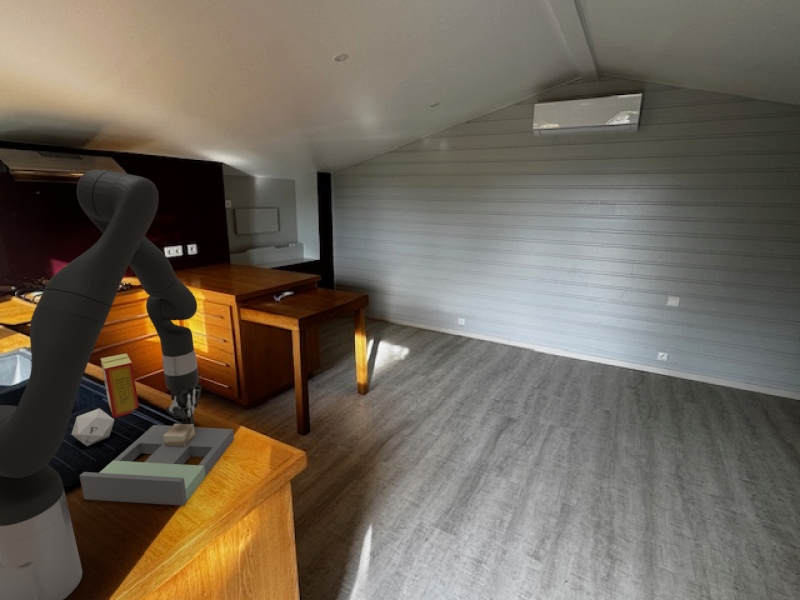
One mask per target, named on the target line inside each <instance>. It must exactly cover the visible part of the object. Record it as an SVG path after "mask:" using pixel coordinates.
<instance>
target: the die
mask: <svg viewBox="0 0 800 600" xmlns="http://www.w3.org/2000/svg"><path fill="white" fill-rule="evenodd" d="M114 422H115V418H113V417H111V415H109V414H108V413H106V412H105V411H103V410H102V409H101V408H96V409H94V410H91V411H87V412H86V413H83V414H80V415H77V416H76V418H75V423H74V425H73V427H72V431H71V436H73V437H74V438H75V439H77V440H78V441H79V442H81V443H82V444H83V445H85V446H86V447H89V446H91V445H94V444H95V443H98V442H101V441H103V440H105V439H108V438H110V435H111V432H112V429H113V426H114Z"/></svg>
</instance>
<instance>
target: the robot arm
mask: <svg viewBox="0 0 800 600" xmlns="http://www.w3.org/2000/svg"><path fill="white" fill-rule="evenodd" d="M76 197H77V201H78V203H79V206H80V207H81V210H82V211H83V213H85V214H86V216H87V217H88V218H89V219H90V221H92V223H93V224H94V225H95V226H96V227H97V228H98V229H99V231H100V232H101V233H102V235H101V236H100V238H99V239H98V240H97V242H95V244H93V245H92V246H91V247H89V248H88V249H87V250H86V251H85V252H83V253H81V254H80V255H79V256H77V257H76V258H74V259H73V260H72V261H70V262H69V263H67V264H66V265H65V266H64V267H62V268H61V269H59V270H58V271H57V273H55V274H54V275H52V277H51V278H50V279H49V281H48V282H47V284H46V286H45V288H44V289H43V292H42V293H41V296H40V298H39V299H38V302H37V304H36V306H35V308H34V310H33V313H32V316H31V319H30V323H29V341H30V354H31V370H30V374H29V378H28V381H27V384H26V387H25V389H24V391H23V394H22V396H21V398H20V400H19V403H18V404H17V406H16V405H9V404H7V405H6V404H4V405H3V404H0V600H65V599H66V598H68V597H69V595H71V594H72V593H73V592H74V591H75V589H76V588H77V587H78V586H79V584H80V582H81V580H82V577H83V569H82V568H83V567H82V563H81V559H80V554H79V550H78V545H77V542H76V538H75V537H76V536H75V533H74V527H73V523H72V519H71V515H70V510H69V506H68V501H67V496H66V492H65V488H64V483H63V481H62V477H61V475H60V474H59V472H57V470H55V469H53V467H51V465H49V463H50V462H51V460H52V459H53V458H54V457H55V456H56V455H57V452H58V450H59V449H60V447H61V446H62V443H63V441H64V439H65V435H66V432H67V430H68V425H69V422H70V420H71V415H72V414H73V413H72V412H73V409H74V405H75V402H76V399H77V395H78V392H79V388H80V385H81V382H82V380H83V377H84V374H85V372H86V369H87V366H88V364H89V362H90V358H91V357H92V353H93V351H94V348H95V345H96V343H97V341H98V338H99V336H100V334H101V332H102V329H103V328H104V325H105V324H106V321H107V320H108V316H109V314H110V312H111V308H112V307H113V303H114V301H115V298H116V296H117V292H118V291H119V288H120V286H121V283H122V281H123V279H124V277H125V274H126V272H127V270H128V268H129V266H130V268H131V270H132V272H133V273H134V274H135V277H136V278H137V281H138V282H139V283H140V285H141V287H142V288H143V290H144V291H145V293H146V294H147V295H148V297H147V299H146V304H145V306H146V307H145V309H146V313H147V315H148V317H149V319H150V321H151V323H152V325H153V327H154V328H155V331H156V333H157V335H158V338H159V341H160V342H159V343H160V348H161V354H162V356H161V357H162V362H161V363H162V369H163V375H164V381H165V387H166V389H168V390H169V391H170V393H171V394H170V395H171V396H170V400H171V404H170V406H166V408H165V411H166V412H167V413H168V414H169V415H171V416H172V417H173V418H175V419H181V424H194V425H195V419H194V413H195V408H198V406H199V401H200V397H201V393H202V387H203V386H202V385H201V384H198V383H199V382H200V377H199V369H198V363H197V362H198V360H197V355H196V351H195V347H194V346H195V345H194V338H193V332H192V330H191V329H190V328H189V327H186V326H182V325H178V324H175V323H174V322H173V321H187V320H191V319H192V318H193V317H194V316H195V315H196V313H197V310H198V302H197V299H196V297H195V295H194V294H193V292H192V291H191V289H189V288H188V287H187V286H186V285H185V284H184V283H183V282H182V281H181V280H180V279H179V277H177V275H176V273H175V271H174V268H173V266H172V264H171V263H170V260H169V259H168V257H167V256H166V255H165V253H164V252H163V251H162V250H161V249H160V248H159V247H158V246H156V245H155V244H154V243H153V242H152V241H150V239H148V238H147V237H146V234H147V233H148V230H149V229H150V227H151V224H153V221H154V218H155V217H156V214H157V211H158V206H159V200H160V199H159V198H160V197H159V191H158V188H157V187H156V185H155V183H154V182H153V181H151V180H150V179H148V178H146V177H143V176H140V175H135V174H129V173H124V172H120V171H119V172H118V171H111V170H105V169H90V170H88V171H86V172H84V173H83V174H82V175H81V176H80V178H79V180H78V181H77V184H76Z"/></svg>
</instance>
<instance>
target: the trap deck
mask: <svg viewBox="0 0 800 600" xmlns="http://www.w3.org/2000/svg"><path fill="white" fill-rule="evenodd" d="M172 426H173V425H160V424H159V425H158V424H153V425H152V426H150V427H149V429H148V430H146V431H144V433H143V434H142V435H141V436H139V438H137V439H136V440H135V441H133V443H131V444H130V445H129V446H128V447H127V448H125V449H124V451H122V452H121V453H120V454H119V455H118V456H117V457H116V458H114V459H113V460H112V461H111V462H110V463H109V464H106V466H105V467H104V468H103V469H102V470H100V471H99V472H92V471H91V472H89V471H83V472H82V473H81V474H80V475H79V479H80V484H81V485H80V486H81V489H82V495H83V499H84V500H88V501H89V500H91V501H104V502H105V501H106V502H122V503H137V504H138V503H139V504H156V505H170V506H171V505H172V506H185V505H186V503H187V502H188V501H189V499H190V498H191V497H192V495H193V494H194V493H195V491H196V490H197V489H198V487H199V486H200V484H201V483H202V482H203V481H204V479H206V476H207V475H208V474H209V473H210V472H211V471H212V469H213V468H214V466H215V465H216V464H217V462H218V461H219V459H220V458H221V457H222V456H223V455H224V453H225V452H226V451H227V449H228V447H229V446H230V445H231V444H232V442H233V441H234V440H235V435H234V429H233V428H216V427H215V428H214V427H200V426H199V427H197V426H194V430H195V435H194V436H193V437H192V439H191V440H190V441H189V442H188V443H187V445H186V446H185V447H182V446H165V443H164V438H163V435H164V434H165V433H166V432H167V431H168V430H169V429H170V428H171V427H172ZM141 454H144V455H145V454H148V455H150V456H149V457H148V458H147V459H145V461H144V462H143V461H142V462H141V461H134V460H135V459H137V458H138V456H140V455H141ZM191 457H198V458H199V457H200V458H203V459H202V460H201V461H200V462H199V463H198V465H196V464H185V463H186V462H187V461H188V460H189V459H190V458H191Z"/></svg>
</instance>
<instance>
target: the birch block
mask: <svg viewBox="0 0 800 600" xmlns="http://www.w3.org/2000/svg"><path fill="white" fill-rule="evenodd" d="M171 426H172V427H171V428H170V429H169V430H168V431H167V432H166V433H165V434H164V435H163V438H164V443H165V446H182V447H185V446H186V445H187V443H188V442H189V441H190V440H191V439H192V437H193V436H194V435H195V430H194V427H195V423H194V424H182V423H174V424H173V425H171Z"/></svg>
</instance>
